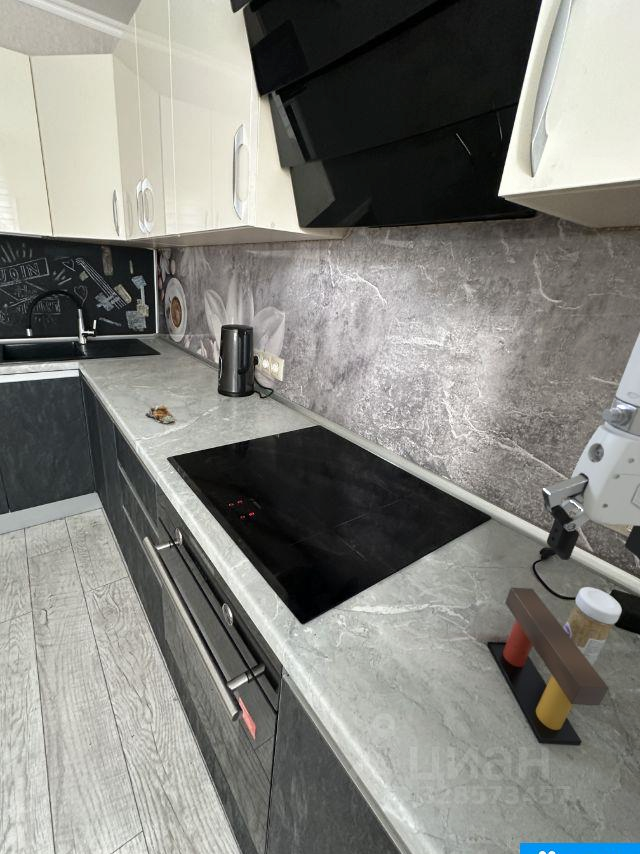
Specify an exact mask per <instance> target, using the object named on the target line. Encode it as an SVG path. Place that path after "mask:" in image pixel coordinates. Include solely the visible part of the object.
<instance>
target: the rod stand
mask: <svg viewBox="0 0 640 854" xmlns="http://www.w3.org/2000/svg"><path fill="white" fill-rule="evenodd" d="M514 619H515V618H514ZM486 646H487V648H488V650H489V651H490V653H491V655H492V657H493V659H494V661H495V663H496V665H497V666H498V669H499V671H500V672H501V675H502V676H503V678H504V680H505V682H506V684H507V685H508V687H509V689H510V691H511V693H512V695H513V696H514V699H515V701H516V702H517V703H518V706H519V709H520V710H521V712H522V713H523V715H524V717H525V720H526V721H527V723H528V725H529V727H530V729H531V731H532V732H533V735H534V736H535V738H536V740H537V742H538V743H539V744H547V745H563V746H581V744H582V740H581V738H580V736H579V735H578V733H577V732H576V730H575V728H574V727H573V725H572V723H571V721H570V720H569V719H568V716H569V714H570V712H571V709H572V708H573V706H574V704H571V703H570V701H569V700H568V698H567V697H566V695H565V694H564V692H563V691H562V689H561V688H560V686H559V685H558V683H557V681H556V680H555V678H554V677H553V675H552V674H551V676H550V678H549V680H548V681H547V683H546V682H545V680H544V679H543V676H542V675H541V673H540V672H539V670H538V669H537V667H536V666H535V664H534V662H533V661H532V659H531V658H530V656H529V655H530V652H531V650H532V648H533V645H532V643H531V642H530V640H529V639H528V637H527V636H526V634H525V633H524V631H523V629H522V628H521V626H520V625H519V623H518V622H517V620H516V619H515V620H514V622H513V624H512V627H511V630H510V632H509V635H508V638H507V640H506V642H504V641H488V642H487V644H486Z"/></svg>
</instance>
